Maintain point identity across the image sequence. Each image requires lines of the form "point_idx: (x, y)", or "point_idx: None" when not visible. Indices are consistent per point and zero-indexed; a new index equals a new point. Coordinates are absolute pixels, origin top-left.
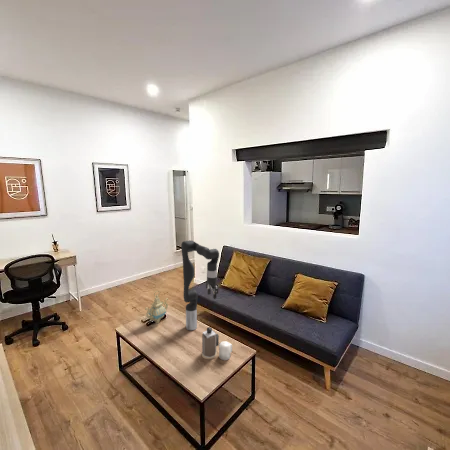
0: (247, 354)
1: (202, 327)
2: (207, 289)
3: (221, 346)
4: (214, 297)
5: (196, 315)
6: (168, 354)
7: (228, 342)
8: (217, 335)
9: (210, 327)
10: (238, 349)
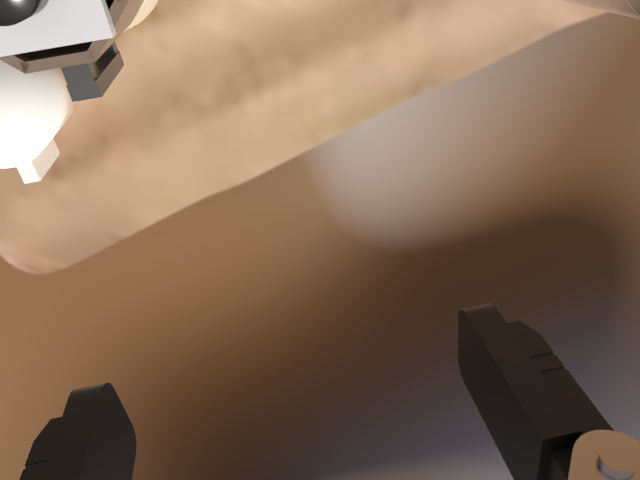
0: (20, 246)
1: (502, 45)
2: (598, 442)
3: None
4: (52, 443)
5: (605, 2)
6: None
7: (22, 161)
8: (66, 86)
9: (24, 14)
10: (95, 211)
